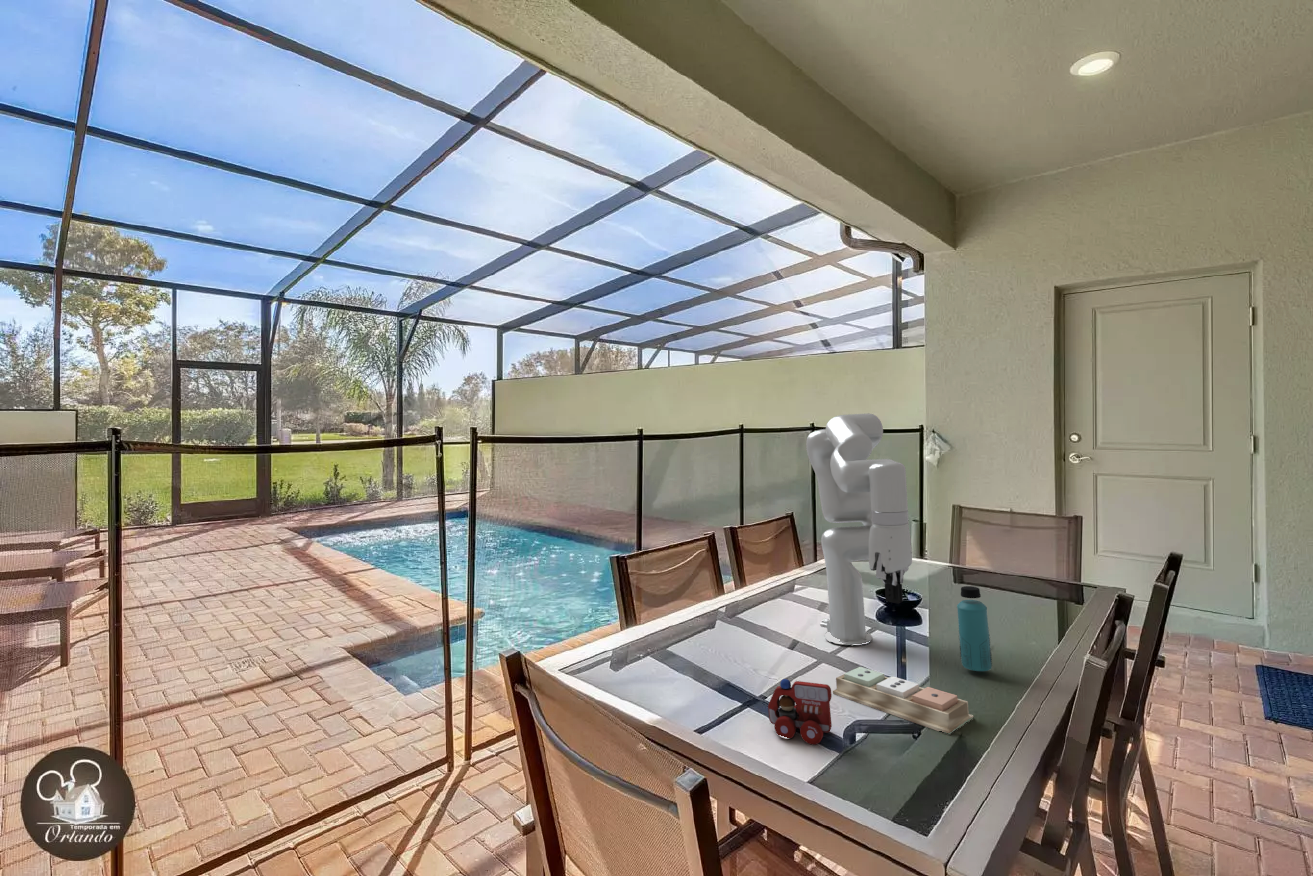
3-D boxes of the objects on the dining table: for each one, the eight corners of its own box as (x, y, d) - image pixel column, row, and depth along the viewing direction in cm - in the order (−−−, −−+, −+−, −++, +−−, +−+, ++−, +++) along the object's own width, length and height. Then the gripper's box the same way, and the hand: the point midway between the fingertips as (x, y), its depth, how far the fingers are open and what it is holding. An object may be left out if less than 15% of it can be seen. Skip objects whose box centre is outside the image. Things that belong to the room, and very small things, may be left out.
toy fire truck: (776, 721, 119) (773, 669, 119) (838, 732, 113) (834, 678, 113) (765, 736, 113) (761, 682, 113) (829, 749, 106) (826, 691, 107)
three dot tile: (877, 700, 123) (876, 683, 123) (893, 692, 126) (892, 675, 126) (904, 710, 118) (902, 692, 118) (919, 701, 121) (918, 683, 122)
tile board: (832, 693, 130) (831, 678, 130) (858, 681, 135) (857, 666, 135) (949, 735, 109) (948, 716, 109) (973, 718, 115) (972, 701, 115)
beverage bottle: (997, 678, 133) (991, 590, 133) (965, 677, 134) (959, 590, 134) (987, 667, 139) (981, 583, 139) (957, 667, 140) (951, 584, 141)
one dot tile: (913, 713, 116) (912, 695, 116) (929, 704, 120) (927, 686, 120) (943, 723, 112) (941, 704, 112) (958, 713, 115) (957, 695, 115)
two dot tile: (845, 689, 129) (844, 673, 129) (861, 682, 133) (860, 666, 133) (869, 698, 124) (868, 681, 124) (885, 689, 128) (883, 673, 128)
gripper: (893, 512, 135) (897, 591, 135) (854, 521, 126) (858, 605, 126) (924, 515, 129) (928, 597, 129) (885, 525, 120) (890, 613, 120)
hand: (894, 601), depth 128 cm, fingers closed
